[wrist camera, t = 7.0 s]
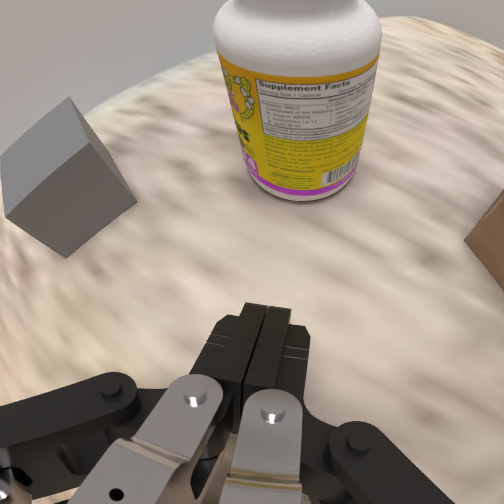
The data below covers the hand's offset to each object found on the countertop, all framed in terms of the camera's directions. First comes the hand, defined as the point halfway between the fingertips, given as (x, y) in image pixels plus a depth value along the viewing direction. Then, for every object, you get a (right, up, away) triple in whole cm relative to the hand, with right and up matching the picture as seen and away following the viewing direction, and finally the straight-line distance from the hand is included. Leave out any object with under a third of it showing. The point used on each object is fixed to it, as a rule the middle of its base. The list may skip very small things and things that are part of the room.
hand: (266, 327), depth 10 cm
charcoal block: (-12, +6, +9) cm, 16 cm away
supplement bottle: (+2, +8, +8) cm, 12 cm away
